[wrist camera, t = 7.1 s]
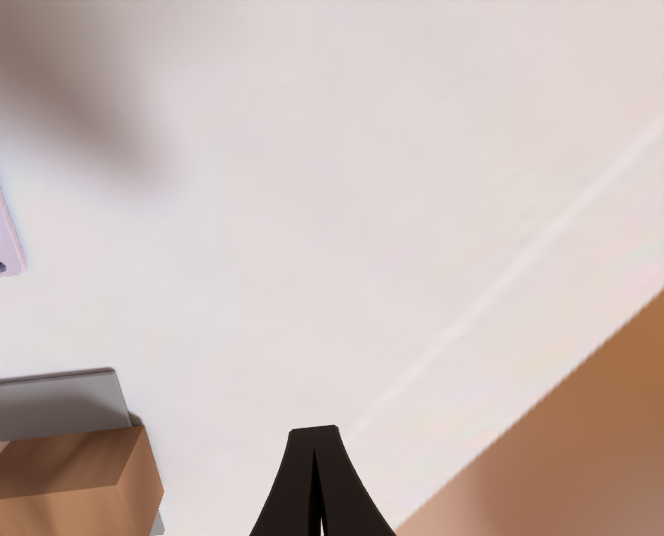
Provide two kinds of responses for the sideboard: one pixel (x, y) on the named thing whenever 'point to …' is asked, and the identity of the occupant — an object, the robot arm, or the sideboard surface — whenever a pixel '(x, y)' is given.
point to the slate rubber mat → (64, 409)
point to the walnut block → (79, 484)
